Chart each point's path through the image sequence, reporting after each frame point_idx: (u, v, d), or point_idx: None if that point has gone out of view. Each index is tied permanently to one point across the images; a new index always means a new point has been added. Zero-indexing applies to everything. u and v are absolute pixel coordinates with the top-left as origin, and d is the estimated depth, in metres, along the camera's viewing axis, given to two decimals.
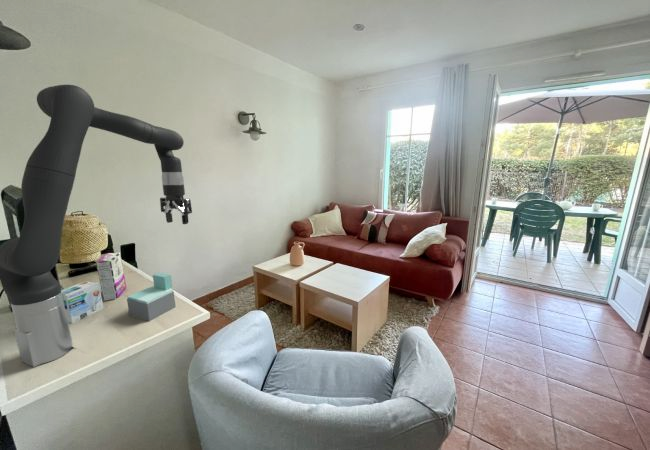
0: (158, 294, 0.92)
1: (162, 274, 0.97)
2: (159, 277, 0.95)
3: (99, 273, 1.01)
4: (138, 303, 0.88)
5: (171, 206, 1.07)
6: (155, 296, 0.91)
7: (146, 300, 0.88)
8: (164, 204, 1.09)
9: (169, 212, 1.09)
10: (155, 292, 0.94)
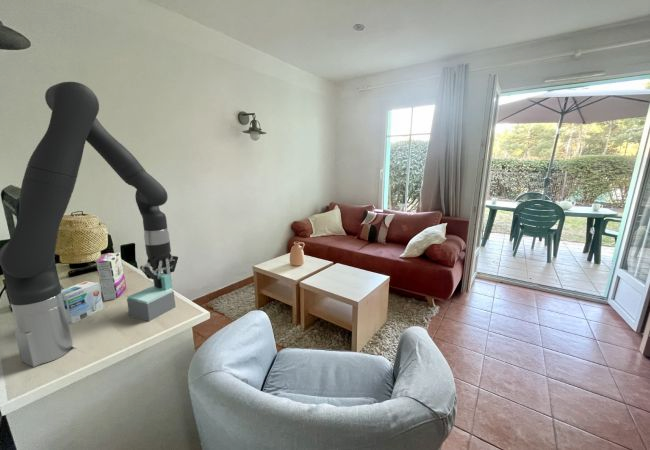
0: (158, 294, 0.92)
1: (162, 274, 0.97)
2: None
3: (99, 273, 1.01)
4: (138, 303, 0.88)
5: (162, 265, 0.95)
6: (155, 296, 0.91)
7: (146, 300, 0.88)
8: None
9: None
10: (155, 292, 0.94)
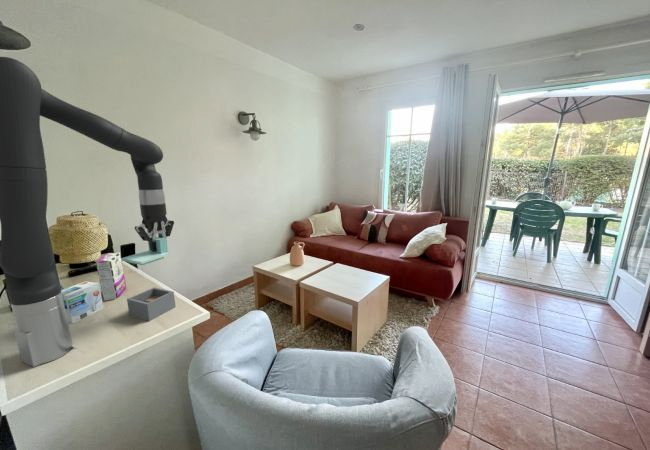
0: (153, 256, 0.90)
1: (157, 238, 0.94)
2: None
3: (99, 273, 1.01)
4: (138, 303, 0.88)
5: (157, 227, 0.92)
6: (150, 258, 0.88)
7: (140, 261, 0.85)
8: None
9: None
10: (150, 255, 0.91)
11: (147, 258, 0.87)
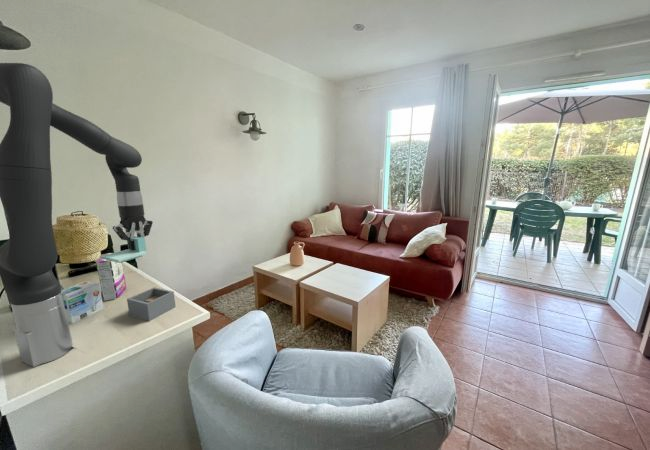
0: (131, 254, 0.95)
1: (136, 237, 0.99)
2: None
3: (99, 273, 1.01)
4: (138, 303, 0.88)
5: (135, 227, 0.97)
6: (127, 256, 0.93)
7: (118, 259, 0.90)
8: None
9: None
10: (128, 253, 0.96)
11: (125, 256, 0.92)
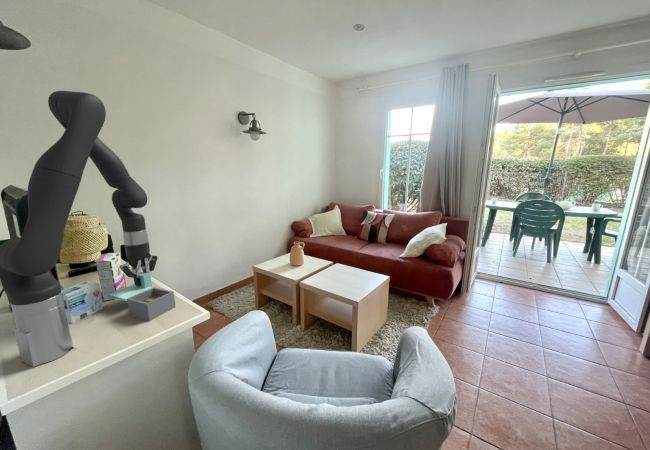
0: (137, 291, 0.98)
1: (142, 273, 1.02)
2: None
3: (99, 273, 1.01)
4: (138, 303, 0.88)
5: (141, 264, 1.01)
6: (134, 294, 0.96)
7: (125, 298, 0.93)
8: None
9: None
10: (135, 290, 0.99)
11: (131, 294, 0.96)
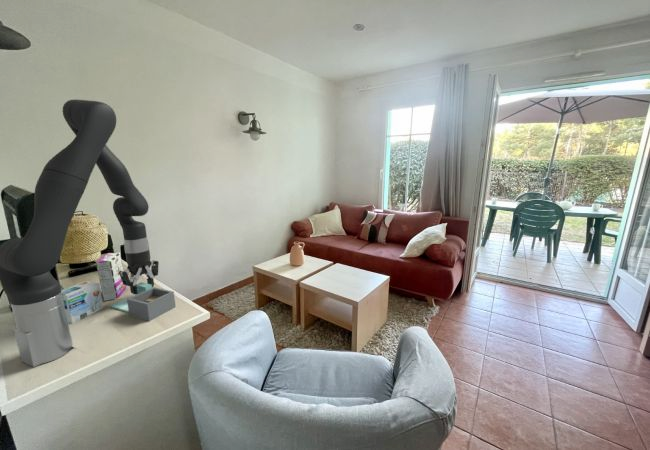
0: None
1: (143, 284, 1.03)
2: (140, 287, 1.02)
3: (99, 273, 1.01)
4: (138, 303, 0.88)
5: (141, 272, 1.01)
6: None
7: (127, 309, 0.94)
8: None
9: None
10: None
11: None
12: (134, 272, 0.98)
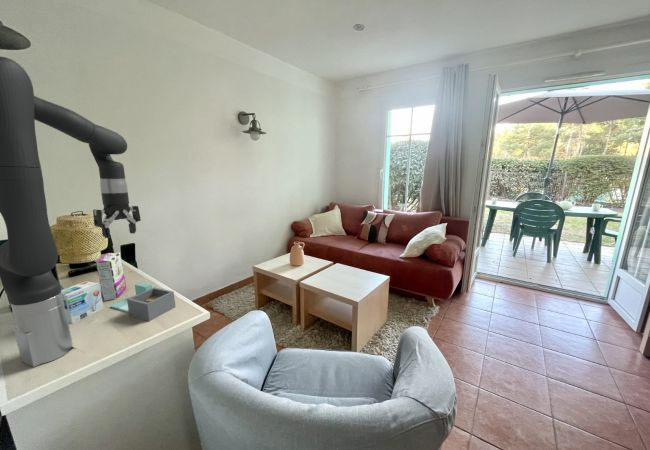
0: None
1: (144, 284, 1.03)
2: (140, 287, 1.02)
3: (99, 273, 1.01)
4: (138, 303, 0.88)
5: (117, 217, 0.94)
6: None
7: (127, 309, 0.94)
8: None
9: None
10: None
11: None
12: (110, 213, 0.92)
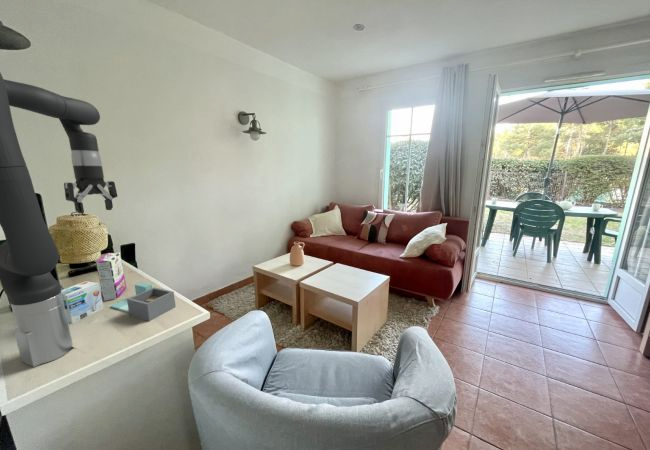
0: None
1: (143, 284, 1.03)
2: (140, 287, 1.02)
3: (99, 273, 1.01)
4: (138, 303, 0.88)
5: (90, 191, 0.90)
6: None
7: (127, 309, 0.94)
8: None
9: None
10: None
11: None
12: (82, 187, 0.88)
